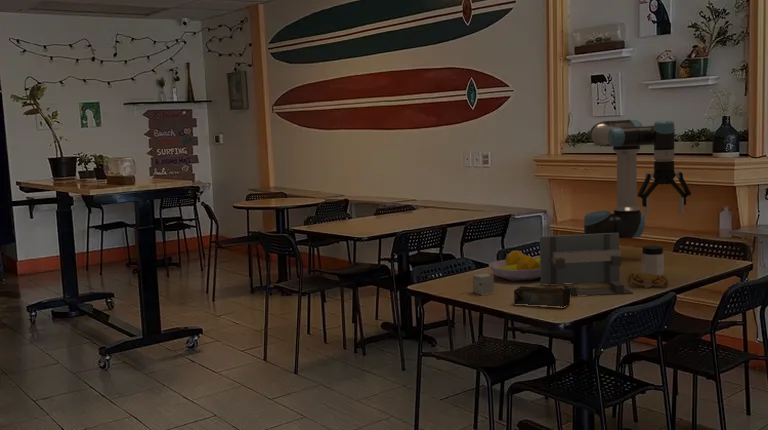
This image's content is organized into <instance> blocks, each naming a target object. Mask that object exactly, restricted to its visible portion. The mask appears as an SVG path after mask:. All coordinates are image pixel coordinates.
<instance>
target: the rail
mask: <svg viewBox="0 0 768 430" xmlns="http://www.w3.org/2000/svg"><path fill="white" fill-rule="evenodd" d="M612 256H621V257H622V250H621V249H620V248H619V249H604V250H583V251H563V252H553V262H554V263H555V264H557V259H565V263H577V262H598V261H612Z"/></svg>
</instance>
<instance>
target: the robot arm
mask: <svg viewBox="0 0 768 430" xmlns="http://www.w3.org/2000/svg"><path fill="white" fill-rule="evenodd" d="M675 130H676V129H675V122H674V121H673V120H662V121H661V120H659V121H655V122H654V124H653V125H649V126H648V125H647V126H646V125H645V126H644V125H642V123H641V122H640V120H637V119H621V120H618V119H617V120H604V121H600V122H597V123H596V124H594V125H593V126H592V127H591V128H590V131H589V140H591V142H592V143H593V144H595V145H596V146H600V147H613V148H612V149H613V151H614V153H616V193H617V194H616V204H617V205H616V206H615V207H614V208H613V213H611V212H610V210H596V211H591V212H588V213H587V214H585V215H584V219H583V231H584V232H583V234H602V233H619V239H635V238H636V239H637V238H639V237H641V236H642V235H643V233H644V230H645V227H646V217H645V216H649V215H650V213H649V212H650V209H649V207H650V201H649V200H650V199H649V198H648V197H649V196H650V194H652V192H654V191H655V189H656V188H657V186H659V185H669V184H670V185H671V186H672V187H673V188H674V189H675V191H676V192H677V193H678V194H679V195H680V196H679V198H678V199H679V200H678V201H679V203H678V206H679V207H678V209H679V210H678V211H679V214H681V215H684V213H685V212H684V210H685V209H684V207H685V206H686V205H687V197H688V196H691V195H692V193H691V190H690V188H689V187H688V185H687V183H686V180H685V179H684V176H683V174H684V173H683V172H680V171H678V172H675V160H674V159H675V132H676V131H675ZM652 145H653V160H654V162H653V173H648V172H647V173H645V177H644V181H643V183H642V185H641V186H640V189H639V191H638V189H637V188H638V187H637V186H638V184H637V177H638V176H637V153H638V152H639V151H640V150H641V146H652ZM675 177H676V178H677V179H678V181H679V183H680V184H681V187H682V188H681V187H680V186H679V185H678V184H677V182H676V181H675ZM652 179H654V181H652V183H651V185H649V183H650V181H651V180H652ZM648 185H649V187H648ZM647 187H648V188H647ZM637 191H638V192H637ZM637 197H638V198H641V203H642V204H641V205H642V207H643V208H644V213H643V212H642V211H641V208H640V207H639V206H638V203H637V202H638V200H637V199H638V198H637Z"/></svg>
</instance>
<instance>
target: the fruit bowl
mask: <svg viewBox="0 0 768 430" xmlns="http://www.w3.org/2000/svg"><path fill="white" fill-rule="evenodd" d="M488 266H489V268H490V269H491V271H492V272H493V273H494V276H497V277H501V278H502V279H506V280H509V281H512V282H519V281H521V280H522V281H534V280H537V279H538V278H541V271H540V256H539V257H536V258H533V256H531V255H526V254H525V253H523V252H522V251H520V250H518V249H517V250H512V251H510V252H509V253H508V254H507V255H506V257H505V259H501V260H495V261H492V262H491V263H490V264H488Z"/></svg>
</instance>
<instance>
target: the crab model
mask: <svg viewBox="0 0 768 430" xmlns="http://www.w3.org/2000/svg"><path fill="white" fill-rule="evenodd" d="M626 280H627V283H628V284H629V285H631V286H633V283H634V284H636V285H638V286H643V287H644V288H645V290H649V289H650V288H651V287H652V286H654V287H661V286H664V289H665V288H667V287H668V285H669V280H668V278H667V277H666V275H665V274H664V275H654V274H648V273H642V272H641V273H634V272H632V273H630V274H629V275H628V276H627V277H626ZM630 280H631V281H632V282H633V283H632V282H631V281H630ZM659 282H660V283H659Z"/></svg>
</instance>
